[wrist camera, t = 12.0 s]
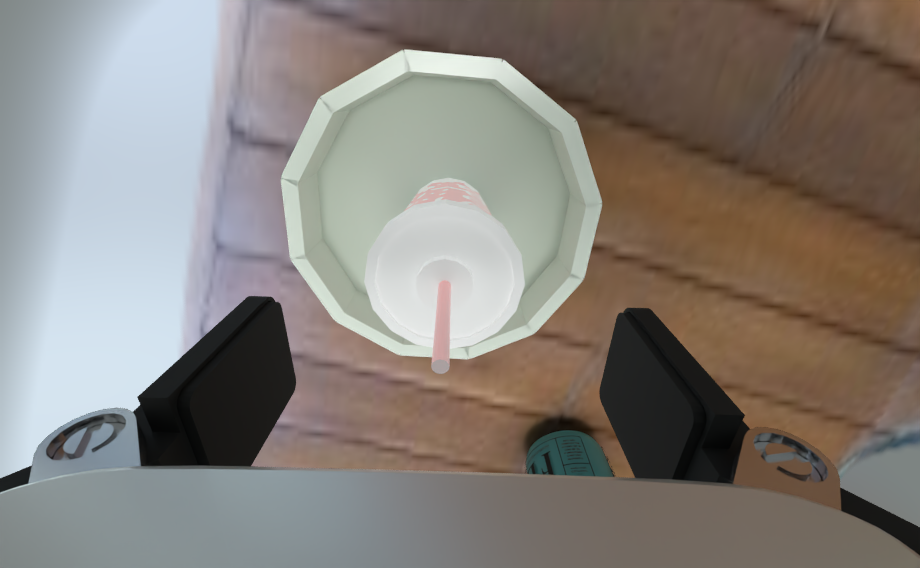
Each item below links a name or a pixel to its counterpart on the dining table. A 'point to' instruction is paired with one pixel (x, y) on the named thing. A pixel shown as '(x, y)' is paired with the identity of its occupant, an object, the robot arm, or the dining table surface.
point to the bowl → (432, 158)
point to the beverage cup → (444, 271)
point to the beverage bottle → (567, 456)
